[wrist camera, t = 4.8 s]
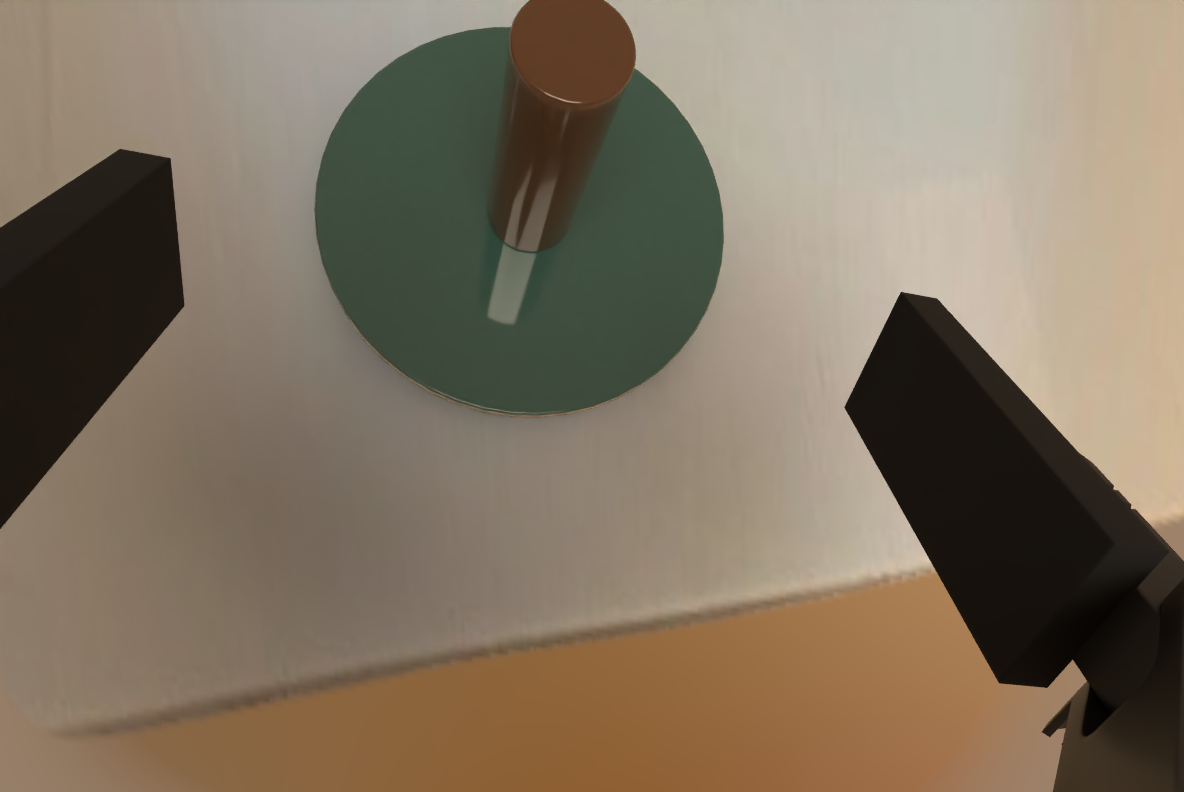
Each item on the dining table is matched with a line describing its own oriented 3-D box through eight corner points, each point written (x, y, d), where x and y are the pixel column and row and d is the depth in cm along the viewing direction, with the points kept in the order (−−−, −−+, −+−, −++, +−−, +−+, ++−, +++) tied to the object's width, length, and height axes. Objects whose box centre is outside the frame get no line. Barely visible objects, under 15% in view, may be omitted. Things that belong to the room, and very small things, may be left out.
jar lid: (270, 367, 24) (147, 254, 14) (378, -1, 27) (339, -309, 17) (678, 459, 26) (821, 416, 16) (739, 108, 29) (892, -112, 19)
